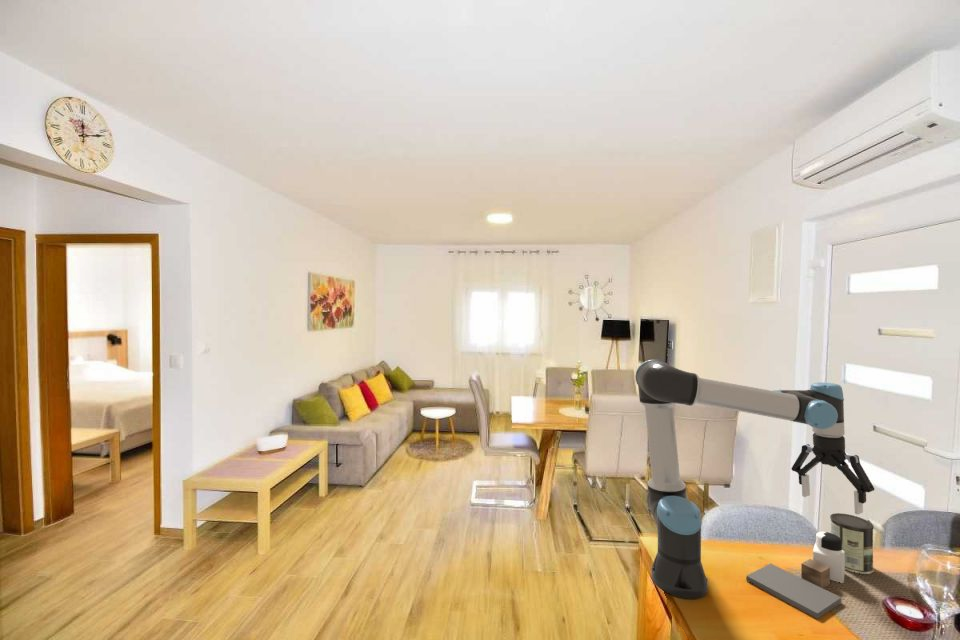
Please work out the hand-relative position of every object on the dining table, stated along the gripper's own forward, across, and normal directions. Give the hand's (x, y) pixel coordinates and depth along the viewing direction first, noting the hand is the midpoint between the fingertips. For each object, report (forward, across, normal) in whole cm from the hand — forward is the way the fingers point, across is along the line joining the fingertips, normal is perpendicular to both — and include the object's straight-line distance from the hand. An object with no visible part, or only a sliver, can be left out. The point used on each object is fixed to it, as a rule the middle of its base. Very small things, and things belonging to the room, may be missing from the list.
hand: (831, 504), depth 127 cm
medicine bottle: (+22, +1, 0) cm, 22 cm away
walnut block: (+22, +1, +8) cm, 23 cm away
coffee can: (+22, +1, -12) cm, 25 cm away
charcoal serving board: (+21, +1, +20) cm, 29 cm away
